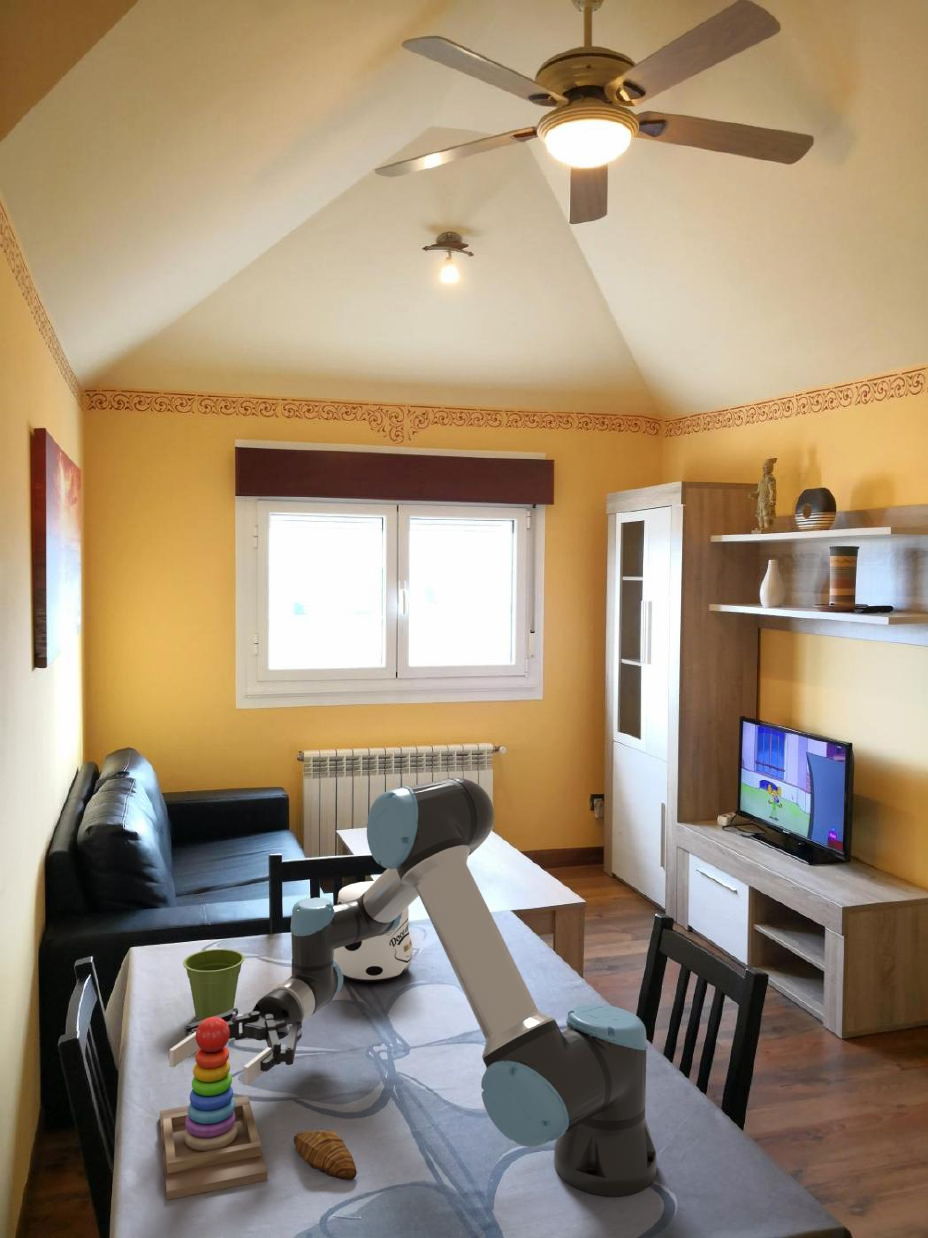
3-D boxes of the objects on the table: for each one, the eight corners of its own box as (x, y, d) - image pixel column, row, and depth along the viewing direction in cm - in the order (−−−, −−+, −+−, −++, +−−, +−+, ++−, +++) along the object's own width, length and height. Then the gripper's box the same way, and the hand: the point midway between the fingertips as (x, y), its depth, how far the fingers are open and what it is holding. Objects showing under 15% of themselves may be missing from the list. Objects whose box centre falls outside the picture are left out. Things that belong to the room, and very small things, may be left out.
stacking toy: (223, 1157, 147) (222, 1034, 146) (174, 1150, 149) (173, 1028, 148) (246, 1128, 155) (245, 1011, 154) (198, 1122, 157) (197, 1006, 156)
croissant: (277, 1155, 150) (277, 1123, 150) (313, 1137, 155) (313, 1106, 155) (335, 1194, 141) (335, 1160, 141) (370, 1173, 146) (371, 1140, 145)
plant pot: (257, 1010, 199) (257, 955, 198) (214, 1034, 189) (214, 976, 188) (214, 997, 205) (213, 944, 204) (170, 1019, 195) (169, 963, 194)
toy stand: (267, 1180, 144) (267, 1162, 144) (167, 1200, 139) (166, 1181, 139) (247, 1102, 164) (247, 1087, 164) (159, 1118, 160) (159, 1102, 160)
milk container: (423, 981, 213) (423, 899, 212) (344, 994, 207) (344, 909, 206) (398, 952, 229) (398, 876, 228) (325, 963, 223) (324, 884, 222)
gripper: (347, 1044, 166) (278, 1108, 146) (222, 1018, 175) (142, 1075, 156) (347, 1000, 166) (277, 1058, 146) (222, 977, 175) (141, 1028, 155)
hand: (207, 1067), depth 151 cm, fingers open, 13 cm apart
